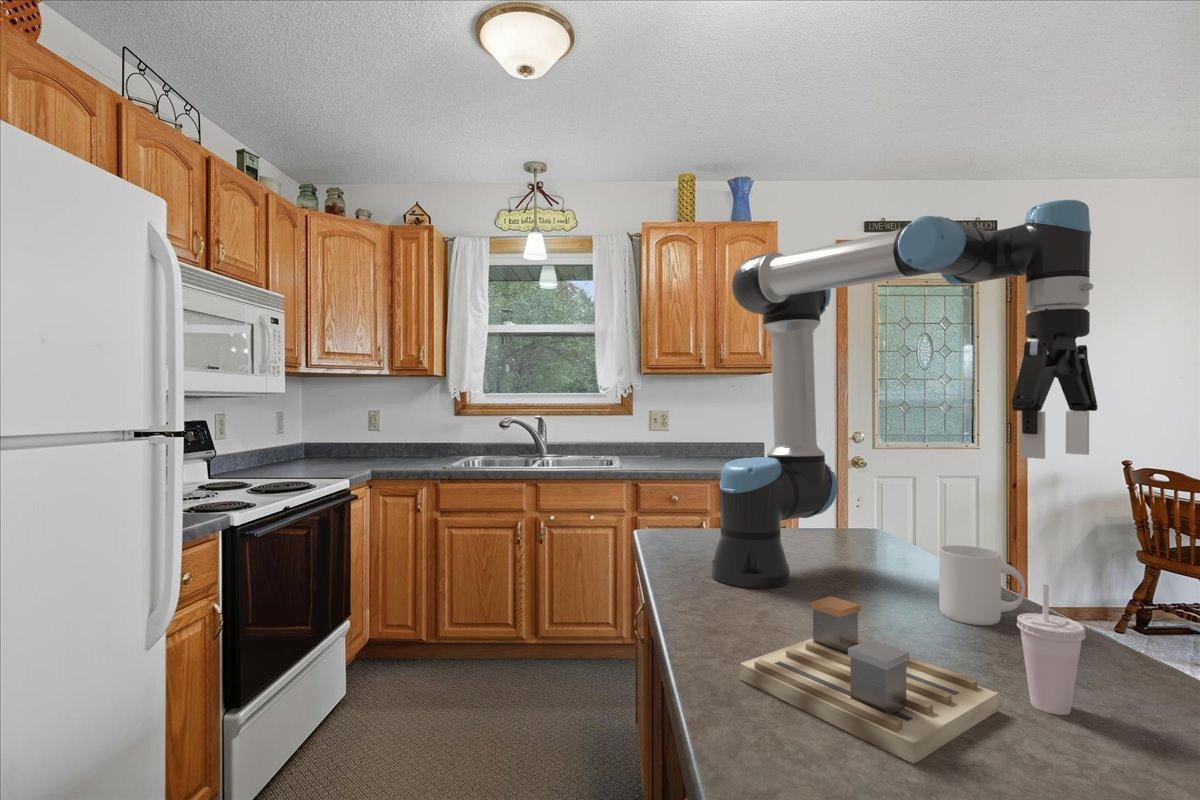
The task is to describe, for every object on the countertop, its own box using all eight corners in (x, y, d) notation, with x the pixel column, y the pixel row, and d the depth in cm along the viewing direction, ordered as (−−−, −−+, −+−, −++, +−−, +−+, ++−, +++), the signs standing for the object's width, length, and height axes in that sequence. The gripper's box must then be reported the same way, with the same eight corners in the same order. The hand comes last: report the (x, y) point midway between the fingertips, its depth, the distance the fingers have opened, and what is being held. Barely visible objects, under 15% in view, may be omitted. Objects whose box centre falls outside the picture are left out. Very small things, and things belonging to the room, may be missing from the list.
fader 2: (847, 701, 67) (847, 648, 67) (870, 690, 69) (870, 639, 69) (886, 718, 63) (886, 662, 63) (909, 706, 66) (909, 652, 66)
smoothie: (1003, 694, 73) (1003, 576, 73) (1053, 692, 74) (1053, 575, 74) (1046, 722, 67) (1046, 593, 67) (1101, 720, 68) (1101, 592, 68)
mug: (1033, 632, 93) (1033, 561, 94) (944, 622, 98) (944, 554, 98) (1017, 614, 102) (1017, 549, 102) (935, 605, 106) (935, 543, 106)
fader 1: (810, 645, 82) (810, 601, 83) (830, 638, 85) (830, 596, 85) (840, 656, 79) (840, 611, 79) (859, 648, 81) (860, 604, 81)
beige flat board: (739, 679, 77) (739, 656, 77) (827, 647, 88) (827, 627, 88) (913, 763, 59) (913, 734, 59) (997, 710, 69) (997, 685, 69)
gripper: (1044, 299, 80) (1043, 462, 80) (1124, 314, 93) (1123, 454, 93) (984, 306, 87) (983, 457, 87) (1066, 319, 100) (1065, 450, 100)
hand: (1055, 456), depth 90 cm, fingers open, 13 cm apart
